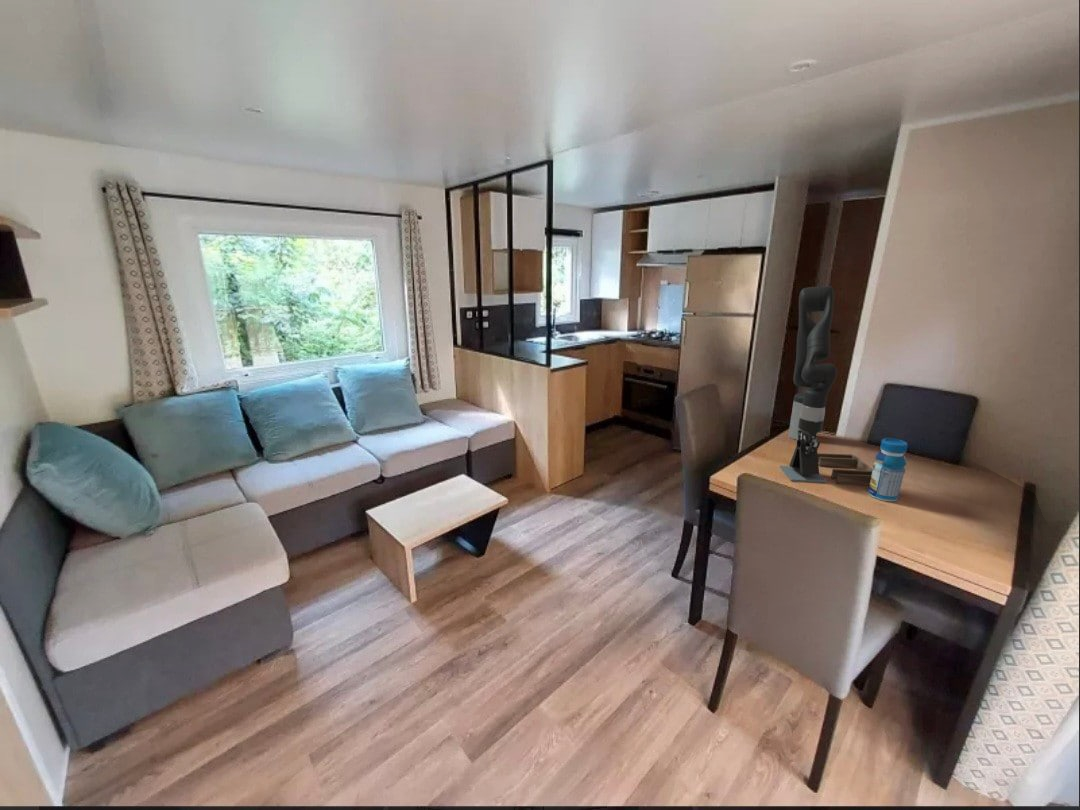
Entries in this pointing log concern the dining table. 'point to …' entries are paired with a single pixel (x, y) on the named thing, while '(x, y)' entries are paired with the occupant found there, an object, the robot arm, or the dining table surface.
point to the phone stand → (804, 460)
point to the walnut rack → (849, 461)
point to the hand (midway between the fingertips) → (804, 460)
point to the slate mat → (802, 476)
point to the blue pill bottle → (888, 470)
